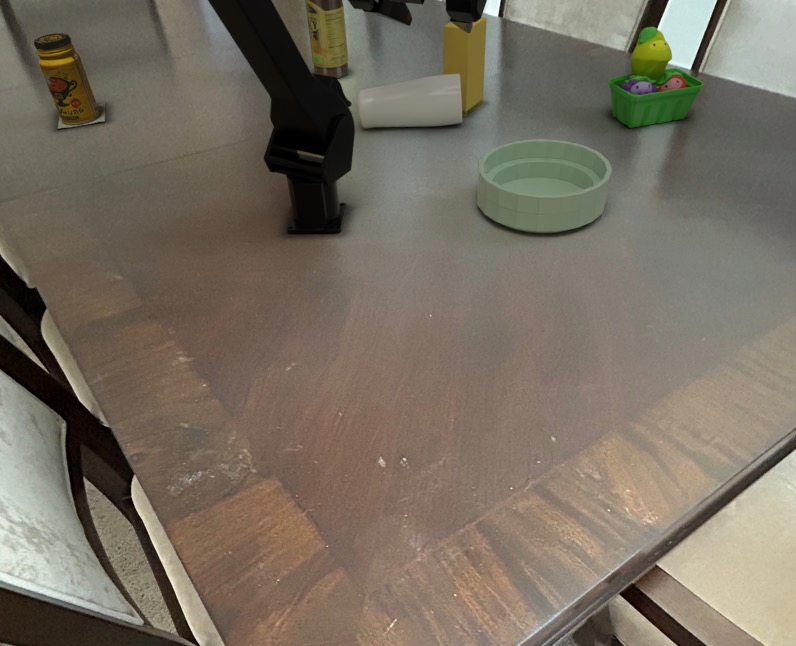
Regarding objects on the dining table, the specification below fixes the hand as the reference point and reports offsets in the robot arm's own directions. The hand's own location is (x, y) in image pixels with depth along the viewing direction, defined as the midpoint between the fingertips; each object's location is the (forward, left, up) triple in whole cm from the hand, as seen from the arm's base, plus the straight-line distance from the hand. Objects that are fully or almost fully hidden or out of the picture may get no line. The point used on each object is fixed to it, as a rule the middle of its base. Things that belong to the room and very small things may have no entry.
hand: (439, 25), depth 91 cm
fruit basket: (+2, -31, -14) cm, 33 cm away
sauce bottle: (+24, +19, -14) cm, 34 cm away
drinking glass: (0, +12, -11) cm, 16 cm away
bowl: (-25, -13, -13) cm, 31 cm away
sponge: (+7, -4, -13) cm, 16 cm away
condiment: (+7, +58, -14) cm, 60 cm away
